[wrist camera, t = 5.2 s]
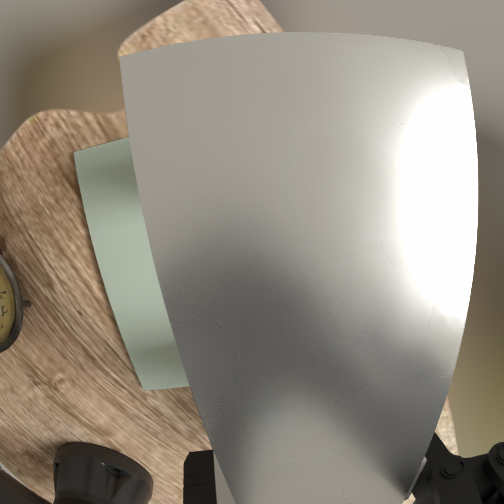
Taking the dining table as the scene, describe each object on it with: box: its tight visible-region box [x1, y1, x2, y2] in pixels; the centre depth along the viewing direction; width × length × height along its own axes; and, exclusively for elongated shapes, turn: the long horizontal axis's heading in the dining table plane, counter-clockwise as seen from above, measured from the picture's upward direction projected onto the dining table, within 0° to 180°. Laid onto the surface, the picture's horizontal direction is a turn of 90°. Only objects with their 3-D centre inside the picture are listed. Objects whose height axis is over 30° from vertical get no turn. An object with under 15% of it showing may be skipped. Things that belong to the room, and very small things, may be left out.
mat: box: [73, 137, 190, 391], centre depth 27 cm, size 8×24×1 cm, turn 8°
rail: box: [120, 32, 478, 504], centre depth 9 cm, size 4×22×4 cm, turn 8°
